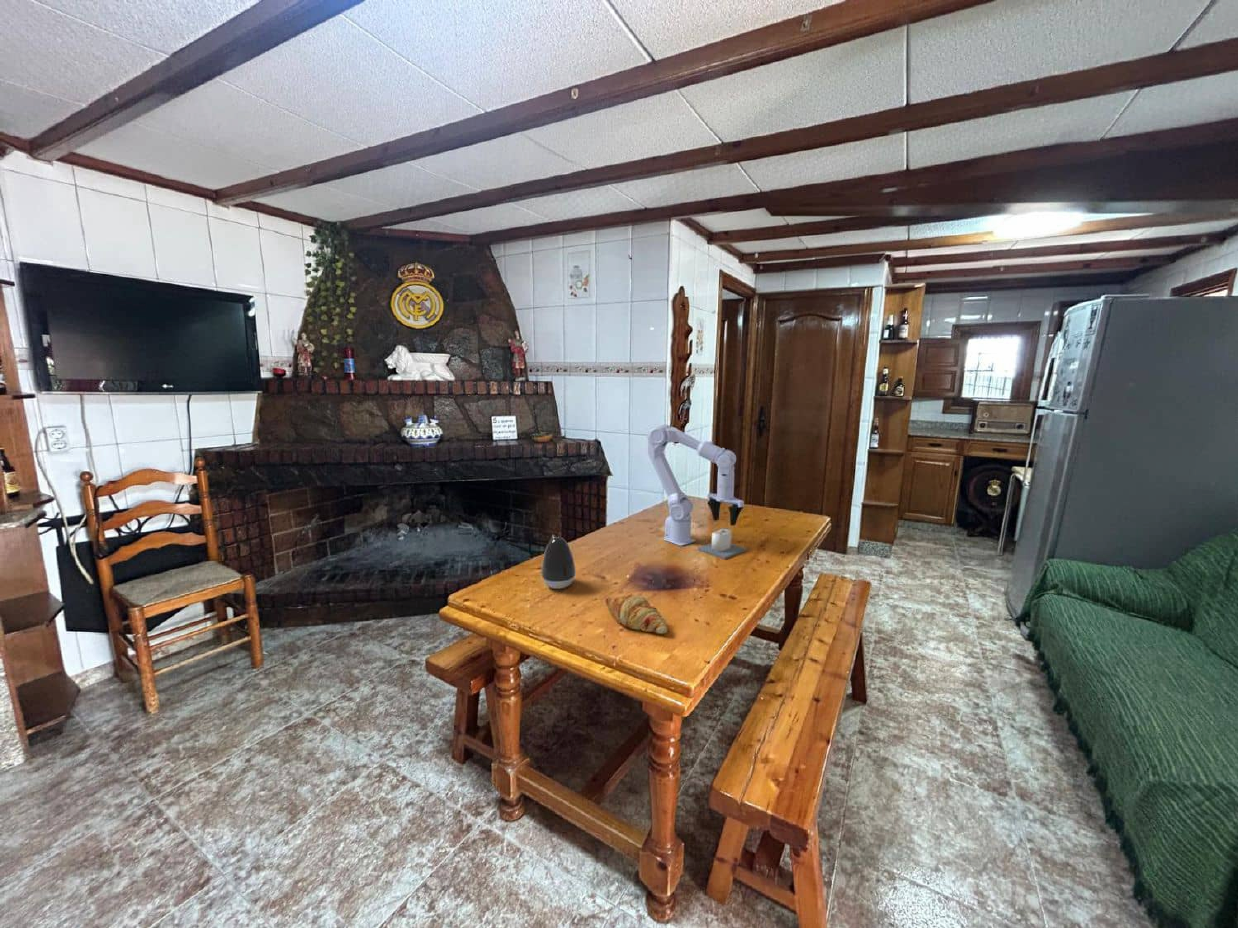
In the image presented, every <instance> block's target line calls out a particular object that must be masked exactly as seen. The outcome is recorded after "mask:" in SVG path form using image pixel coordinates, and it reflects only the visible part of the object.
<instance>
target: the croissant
mask: <svg viewBox="0 0 1238 928" xmlns="http://www.w3.org/2000/svg"><path fill="white" fill-rule="evenodd" d="M605 606H606V607H608V612H609V614H610V615H611V616H612V617H613V618H614V620H615V621H617V622H618V623H620V624H621V625H623V626H624V627H627V628H628V629H631V630H637V631H640V630H641V631H642V632H649V633H652V632H653V633H654V634H658V635H659V634H661V635H662V634H663V635H664V634H666V633H667V632H668V627H667V623H666V621H665V619H664V618H663V617H662V615H661V612H659V610H658V609H657V608H656V607H653V606H651V604H650V602H649V601H648V600H647V598H645V597H644V596H641V595H638V594H632V593H630V594H629V595H627V596H626V595H625V596H624V595H623V596H620V597H618V596H614V597H609V596H608V597H607V598H605Z"/></svg>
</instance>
